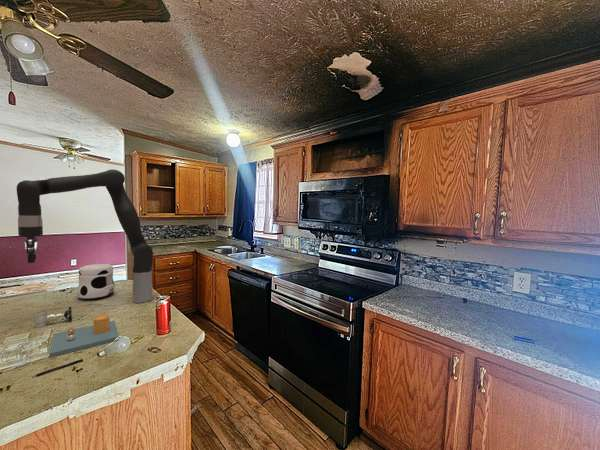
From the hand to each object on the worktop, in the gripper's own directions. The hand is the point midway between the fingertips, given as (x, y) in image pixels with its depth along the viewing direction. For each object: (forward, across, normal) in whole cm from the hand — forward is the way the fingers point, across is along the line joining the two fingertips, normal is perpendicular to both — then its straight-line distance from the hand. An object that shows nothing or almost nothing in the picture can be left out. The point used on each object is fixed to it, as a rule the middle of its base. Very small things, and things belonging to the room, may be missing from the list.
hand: (32, 261), depth 114 cm
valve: (+29, -8, -6) cm, 30 cm away
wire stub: (+27, -35, -11) cm, 45 cm away
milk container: (+29, +22, -25) cm, 44 cm away
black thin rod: (+29, -52, -7) cm, 60 cm away
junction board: (+28, -34, -16) cm, 47 cm away
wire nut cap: (+27, -33, -21) cm, 48 cm away
